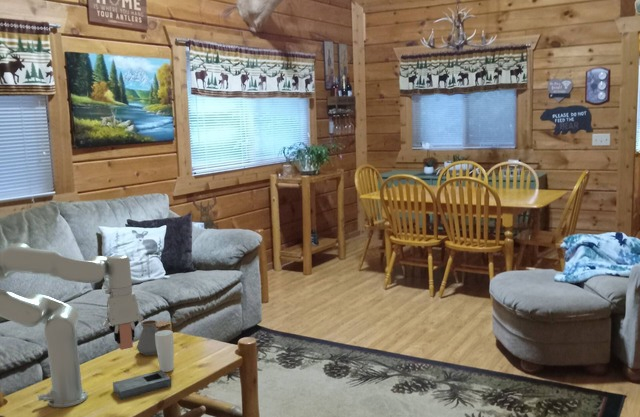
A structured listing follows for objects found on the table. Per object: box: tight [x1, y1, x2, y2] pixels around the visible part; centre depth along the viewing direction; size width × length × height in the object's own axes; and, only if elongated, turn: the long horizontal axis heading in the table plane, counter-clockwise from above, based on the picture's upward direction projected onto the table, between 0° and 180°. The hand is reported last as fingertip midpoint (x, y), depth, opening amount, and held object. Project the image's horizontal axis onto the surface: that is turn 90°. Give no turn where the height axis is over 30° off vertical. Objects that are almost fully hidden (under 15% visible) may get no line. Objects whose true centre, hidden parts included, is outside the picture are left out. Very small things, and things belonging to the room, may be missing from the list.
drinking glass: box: [155, 329, 175, 373], centre depth 240 cm, size 7×7×15 cm
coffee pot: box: [136, 319, 171, 356], centre depth 257 cm, size 21×12×15 cm, turn 48°
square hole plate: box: [112, 369, 172, 401], centre depth 225 cm, size 18×10×3 cm, turn 123°
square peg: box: [117, 323, 134, 351], centre depth 220 cm, size 4×4×9 cm
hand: (125, 340), depth 220 cm, fingers closed on square peg, 4 cm apart
